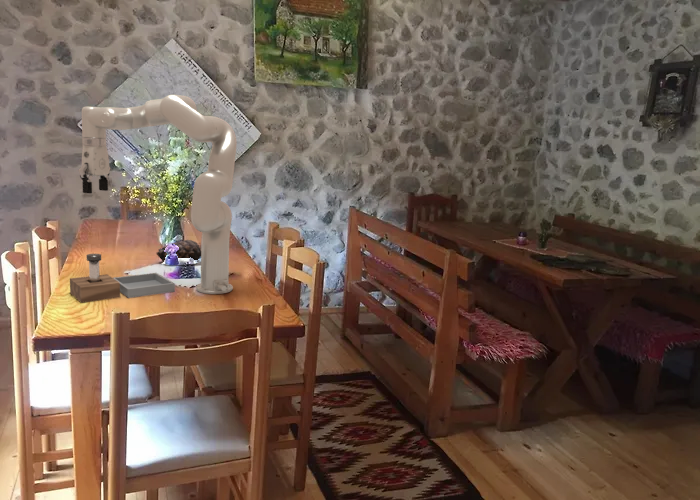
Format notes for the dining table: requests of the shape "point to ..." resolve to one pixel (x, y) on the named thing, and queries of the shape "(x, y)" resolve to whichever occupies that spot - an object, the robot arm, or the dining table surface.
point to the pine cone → (183, 250)
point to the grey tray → (144, 285)
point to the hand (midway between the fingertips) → (95, 191)
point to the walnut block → (94, 288)
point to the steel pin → (94, 267)
